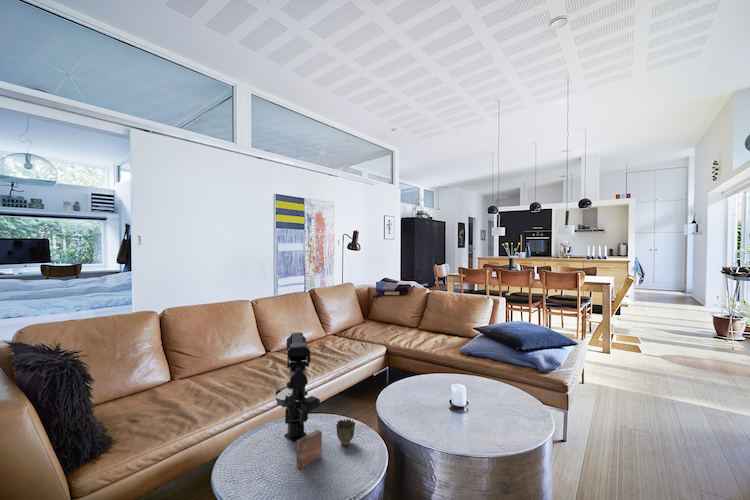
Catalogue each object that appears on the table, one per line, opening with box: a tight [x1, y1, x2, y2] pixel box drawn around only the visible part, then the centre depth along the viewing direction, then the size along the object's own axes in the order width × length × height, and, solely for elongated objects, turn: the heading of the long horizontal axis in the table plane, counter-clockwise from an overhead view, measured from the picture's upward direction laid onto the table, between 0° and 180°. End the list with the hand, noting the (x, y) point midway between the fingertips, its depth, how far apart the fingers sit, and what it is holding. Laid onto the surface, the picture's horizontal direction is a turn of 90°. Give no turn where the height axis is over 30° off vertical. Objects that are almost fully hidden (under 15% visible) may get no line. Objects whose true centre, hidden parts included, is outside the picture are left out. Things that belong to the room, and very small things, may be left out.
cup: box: [335, 418, 356, 447], centre depth 128 cm, size 8×7×8 cm
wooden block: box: [295, 429, 323, 471], centre depth 117 cm, size 3×10×9 cm, turn 144°
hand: (296, 421), depth 122 cm, fingers open, 5 cm apart
